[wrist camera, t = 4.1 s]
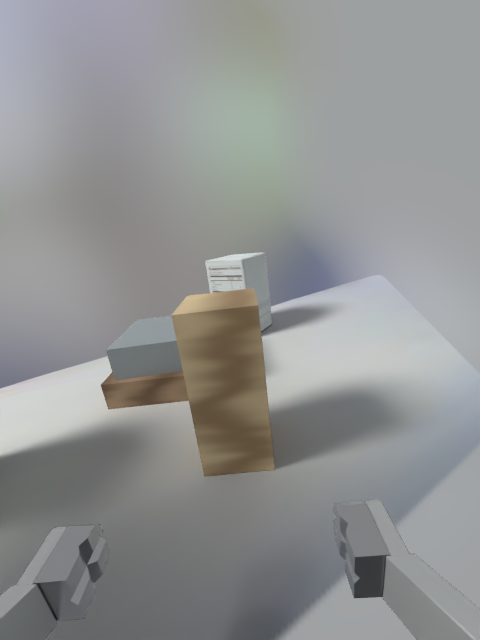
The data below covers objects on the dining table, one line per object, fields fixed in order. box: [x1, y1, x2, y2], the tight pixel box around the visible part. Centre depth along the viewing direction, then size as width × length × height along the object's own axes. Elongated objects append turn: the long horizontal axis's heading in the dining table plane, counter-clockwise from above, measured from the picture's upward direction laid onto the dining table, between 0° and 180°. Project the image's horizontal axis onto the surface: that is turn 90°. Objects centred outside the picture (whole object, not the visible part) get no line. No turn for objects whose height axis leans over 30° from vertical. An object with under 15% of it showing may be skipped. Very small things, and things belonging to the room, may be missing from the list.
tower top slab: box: [107, 316, 183, 380], centre depth 33 cm, size 10×10×4 cm
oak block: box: [171, 288, 275, 476], centre depth 20 cm, size 5×5×12 cm
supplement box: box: [205, 253, 272, 331], centre depth 45 cm, size 7×7×13 cm
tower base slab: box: [101, 371, 189, 409], centre depth 34 cm, size 12×12×4 cm
